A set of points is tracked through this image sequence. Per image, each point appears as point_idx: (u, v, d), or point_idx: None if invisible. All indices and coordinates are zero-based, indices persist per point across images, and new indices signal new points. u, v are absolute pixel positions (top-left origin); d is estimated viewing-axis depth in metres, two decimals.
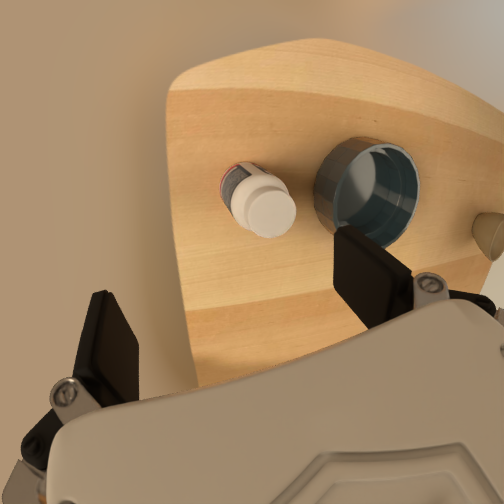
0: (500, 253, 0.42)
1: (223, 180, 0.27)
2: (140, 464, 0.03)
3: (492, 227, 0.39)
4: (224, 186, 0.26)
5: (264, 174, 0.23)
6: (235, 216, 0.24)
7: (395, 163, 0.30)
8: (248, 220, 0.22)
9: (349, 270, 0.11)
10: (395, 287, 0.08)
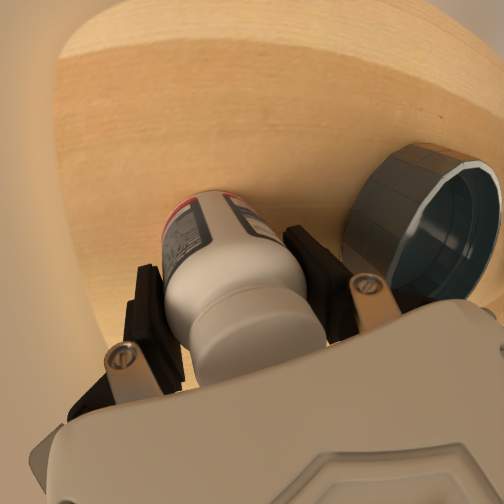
0: None
1: (163, 235, 0.13)
2: (140, 464, 0.03)
3: None
4: (162, 251, 0.12)
5: (244, 241, 0.09)
6: (177, 339, 0.10)
7: (470, 190, 0.16)
8: None
9: None
10: (330, 287, 0.09)
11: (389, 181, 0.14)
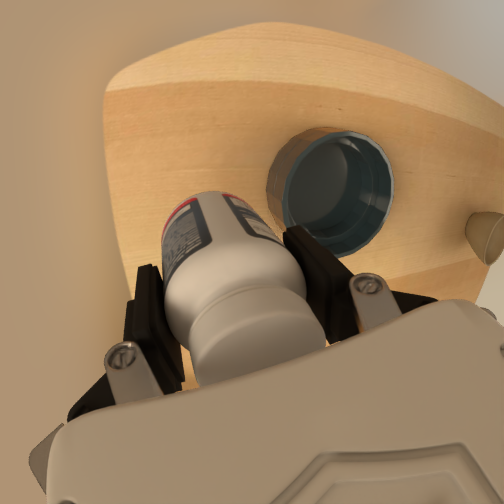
0: (497, 256, 0.39)
1: (163, 235, 0.13)
2: (140, 464, 0.03)
3: (487, 228, 0.35)
4: (162, 252, 0.12)
5: (244, 241, 0.09)
6: (177, 339, 0.10)
7: (363, 155, 0.27)
8: None
9: None
10: (330, 287, 0.09)
11: (287, 150, 0.25)
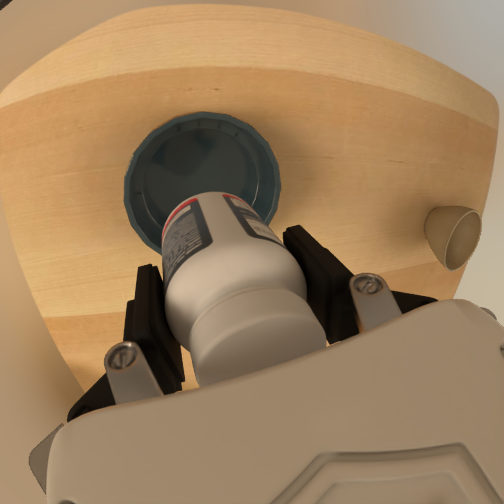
0: (465, 260, 0.36)
1: (163, 236, 0.13)
2: (140, 464, 0.03)
3: (447, 225, 0.32)
4: (163, 252, 0.12)
5: (244, 242, 0.09)
6: (178, 340, 0.10)
7: (239, 139, 0.23)
8: None
9: None
10: (331, 287, 0.09)
11: None
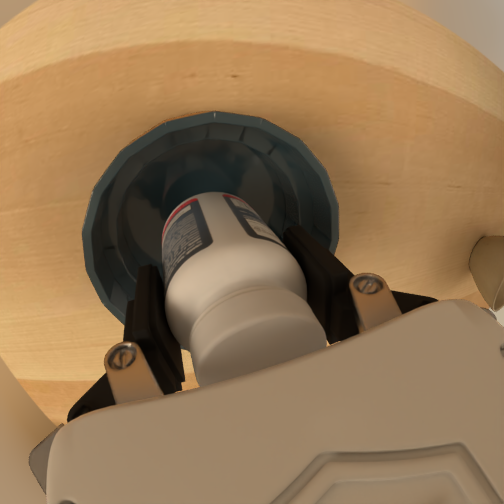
0: None
1: (163, 236, 0.13)
2: (140, 464, 0.03)
3: (501, 263, 0.23)
4: (163, 252, 0.12)
5: (244, 242, 0.09)
6: (178, 341, 0.10)
7: (274, 159, 0.14)
8: None
9: None
10: (330, 287, 0.09)
11: None
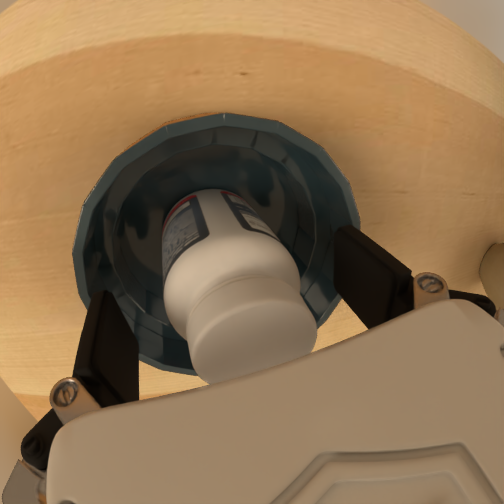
0: None
1: (163, 231, 0.13)
2: (140, 464, 0.03)
3: None
4: (162, 246, 0.12)
5: (239, 234, 0.09)
6: (176, 329, 0.10)
7: (289, 168, 0.13)
8: None
9: (349, 270, 0.11)
10: (395, 287, 0.08)
11: None
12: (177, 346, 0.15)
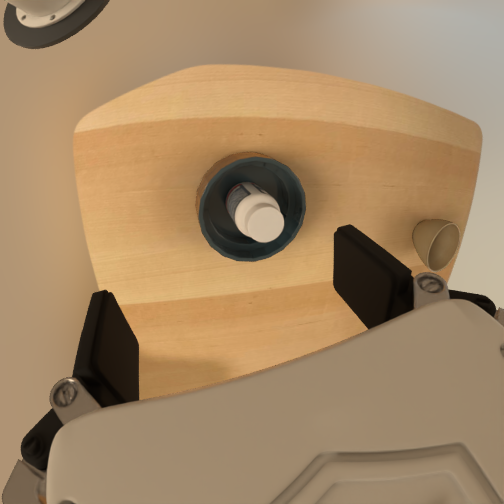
0: (447, 263, 0.46)
1: (228, 197, 0.35)
2: (140, 464, 0.03)
3: (429, 235, 0.43)
4: (229, 202, 0.34)
5: (260, 193, 0.31)
6: (238, 225, 0.32)
7: (277, 174, 0.34)
8: (247, 229, 0.29)
9: (349, 270, 0.11)
10: (395, 287, 0.08)
11: (207, 175, 0.33)
12: (229, 249, 0.37)
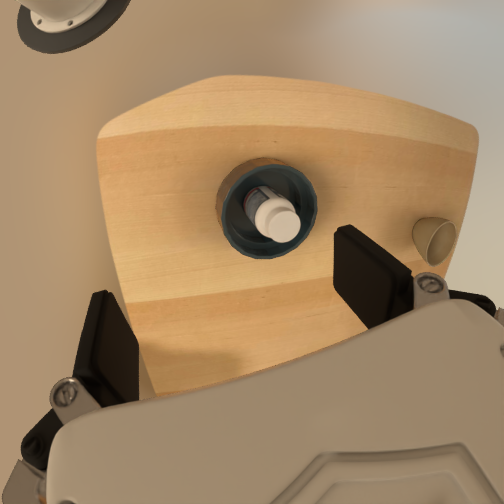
0: (444, 258, 0.50)
1: (247, 200, 0.38)
2: (140, 464, 0.03)
3: (428, 232, 0.46)
4: (248, 204, 0.37)
5: (278, 198, 0.34)
6: (258, 227, 0.35)
7: (291, 179, 0.37)
8: (268, 230, 0.32)
9: (349, 270, 0.11)
10: (395, 287, 0.08)
11: (228, 180, 0.36)
12: (247, 248, 0.40)
